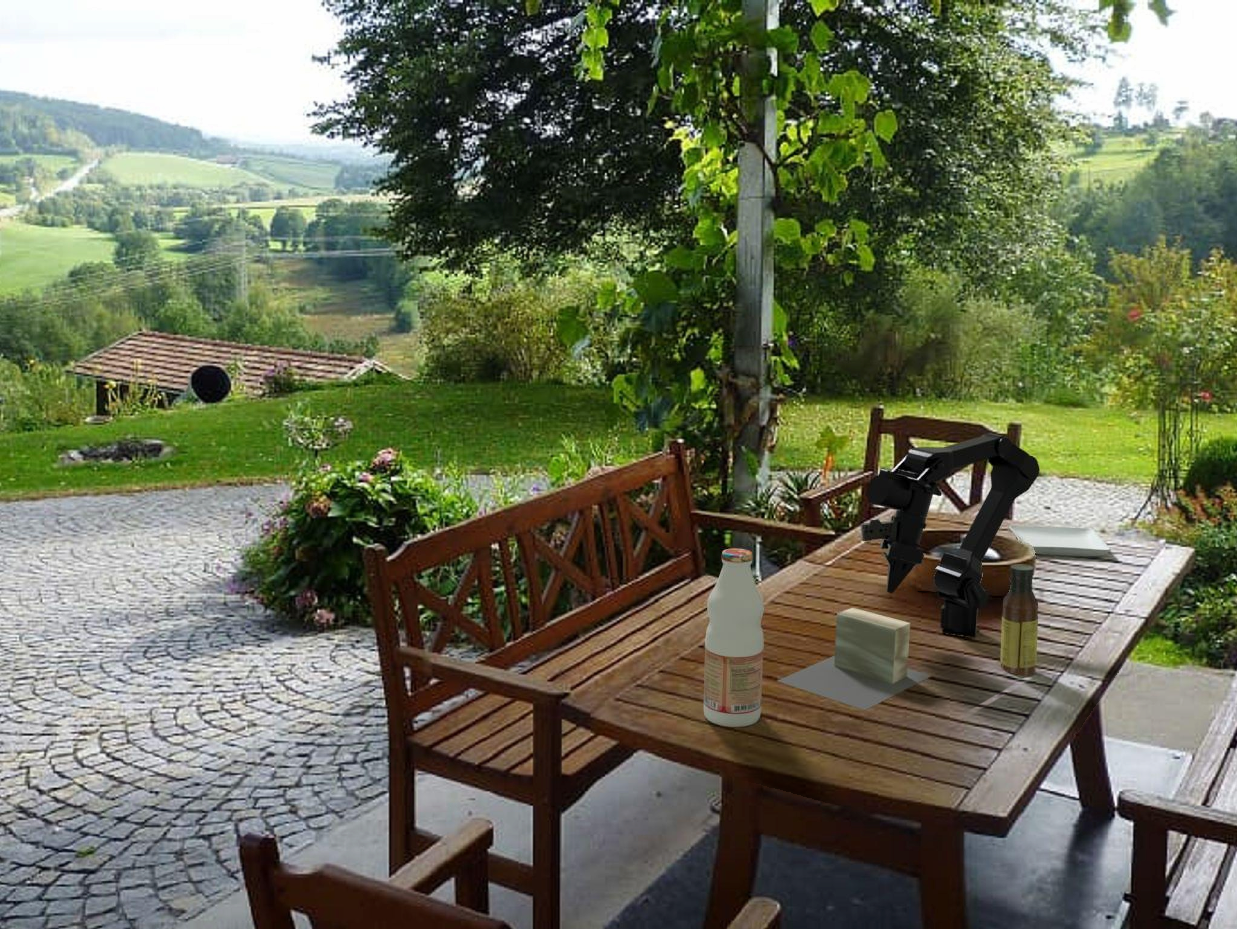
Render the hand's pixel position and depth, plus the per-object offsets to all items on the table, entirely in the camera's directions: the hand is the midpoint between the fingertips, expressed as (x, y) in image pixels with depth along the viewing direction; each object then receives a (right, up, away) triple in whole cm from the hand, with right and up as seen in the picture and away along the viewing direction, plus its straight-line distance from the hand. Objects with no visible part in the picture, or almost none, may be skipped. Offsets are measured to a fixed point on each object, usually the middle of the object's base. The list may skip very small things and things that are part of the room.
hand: (889, 592), depth 223 cm
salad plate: (+60, +3, +76) cm, 97 cm away
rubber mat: (-10, -14, -15) cm, 23 cm away
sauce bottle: (+21, -14, -9) cm, 27 cm away
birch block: (-6, -13, -12) cm, 18 cm away
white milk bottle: (-33, -17, -31) cm, 48 cm away
